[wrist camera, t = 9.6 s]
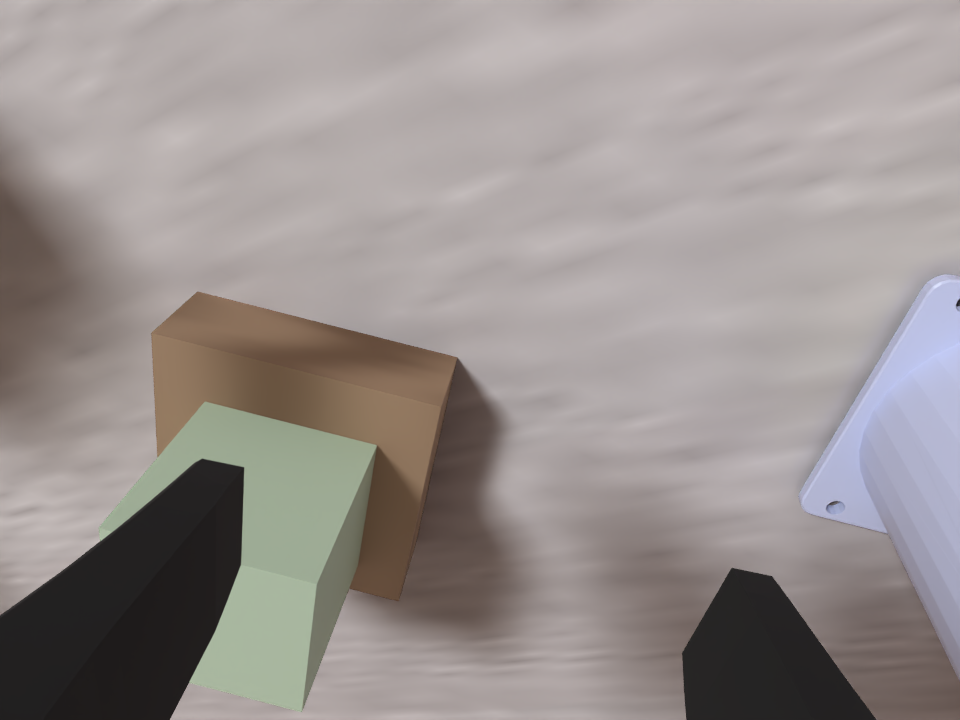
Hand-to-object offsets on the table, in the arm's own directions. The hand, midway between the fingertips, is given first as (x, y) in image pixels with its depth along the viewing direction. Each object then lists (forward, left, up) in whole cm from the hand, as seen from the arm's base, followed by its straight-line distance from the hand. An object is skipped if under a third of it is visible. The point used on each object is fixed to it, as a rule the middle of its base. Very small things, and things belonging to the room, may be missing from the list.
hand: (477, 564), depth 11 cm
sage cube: (+5, +8, -8) cm, 12 cm away
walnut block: (+5, +7, -11) cm, 14 cm away
